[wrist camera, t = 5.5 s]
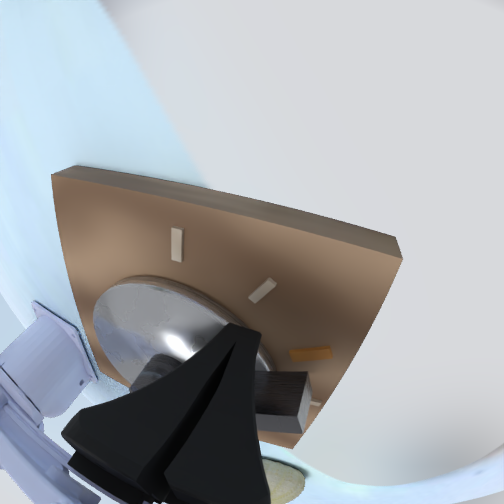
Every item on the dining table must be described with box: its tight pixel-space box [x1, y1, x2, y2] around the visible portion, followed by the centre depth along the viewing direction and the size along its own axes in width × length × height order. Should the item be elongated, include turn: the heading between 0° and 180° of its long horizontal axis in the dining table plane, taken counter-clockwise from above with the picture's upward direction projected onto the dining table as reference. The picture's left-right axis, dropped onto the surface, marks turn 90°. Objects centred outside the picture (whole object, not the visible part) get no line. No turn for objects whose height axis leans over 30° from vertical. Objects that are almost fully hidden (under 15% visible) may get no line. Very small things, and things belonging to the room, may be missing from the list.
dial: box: [93, 276, 313, 434], centre depth 14 cm, size 14×12×4 cm
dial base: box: [51, 166, 403, 449], centre depth 17 cm, size 18×18×2 cm
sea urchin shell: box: [262, 459, 305, 504], centre depth 26 cm, size 9×8×8 cm
